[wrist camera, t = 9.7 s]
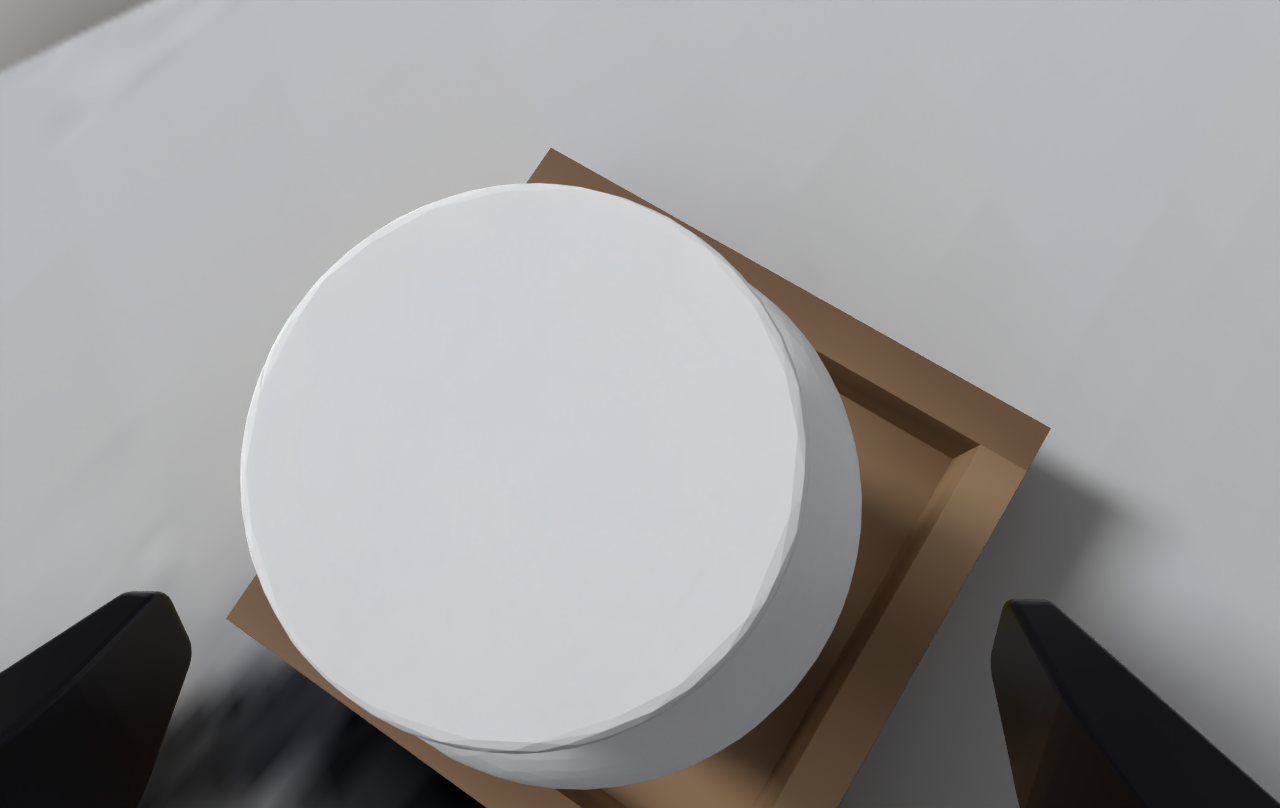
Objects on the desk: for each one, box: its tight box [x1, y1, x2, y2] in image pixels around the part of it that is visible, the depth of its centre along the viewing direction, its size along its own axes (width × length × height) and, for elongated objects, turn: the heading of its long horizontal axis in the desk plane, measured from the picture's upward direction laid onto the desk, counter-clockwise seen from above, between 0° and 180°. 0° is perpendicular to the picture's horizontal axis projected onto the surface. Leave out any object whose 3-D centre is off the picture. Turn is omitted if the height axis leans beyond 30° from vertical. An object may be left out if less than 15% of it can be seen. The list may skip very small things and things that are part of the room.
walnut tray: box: [226, 148, 1051, 808], centre depth 19 cm, size 12×12×3 cm
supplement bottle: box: [240, 183, 862, 790], centre depth 13 cm, size 7×7×13 cm
